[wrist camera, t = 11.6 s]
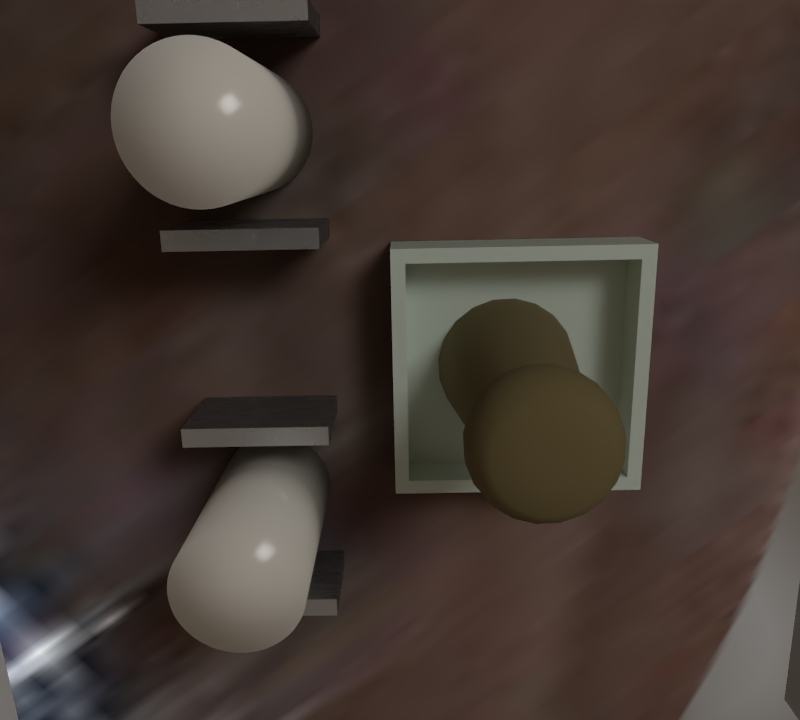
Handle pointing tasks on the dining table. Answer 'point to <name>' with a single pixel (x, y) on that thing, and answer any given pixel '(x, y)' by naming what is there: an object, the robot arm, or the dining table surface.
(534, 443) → the cork
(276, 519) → the cream rounded capsule
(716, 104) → the dining table surface
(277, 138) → the cream jar
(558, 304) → the tray
